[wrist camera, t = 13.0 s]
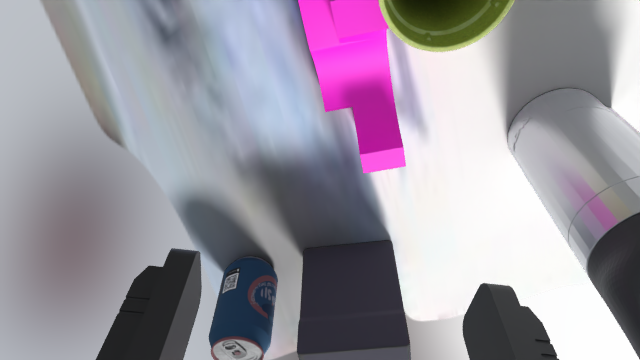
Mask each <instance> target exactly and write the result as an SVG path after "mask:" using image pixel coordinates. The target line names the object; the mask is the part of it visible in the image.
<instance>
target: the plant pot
mask: <svg viewBox="0 0 640 360" xmlns="http://www.w3.org/2000/svg"><path fill="white" fill-rule="evenodd" d="M378 1H379V6H380V9H381V12H382V15H383V17H384V19H385V21H386V23H387V25H388V26H389V28H390V29H391V30H392V32H393V33H394V34H395V35H396V36H397V37H398V38H399V39H401V40H402V41H403V42H405V43H407V44H408V45H410V46H412V47H415V48H417V49H420V50H425V51H431V52H446V51H452V50H457V49H460V48H463V47H466V46H468V45H470V44H472V43H474V42H476V41H478V40H479V39H481V38H483V37H484V36H485V35H487V34H488V33H489V32H491V31H492V30H493V29H494V28H495V27H496V26H497V25H498V24H499V23H500V22H501V21H502V19H503V18H504V17H505V16H506V14H507V13H508V11H509V10H510V8H511V6H512V5H513V3H514V1H515V0H378Z"/></svg>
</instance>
